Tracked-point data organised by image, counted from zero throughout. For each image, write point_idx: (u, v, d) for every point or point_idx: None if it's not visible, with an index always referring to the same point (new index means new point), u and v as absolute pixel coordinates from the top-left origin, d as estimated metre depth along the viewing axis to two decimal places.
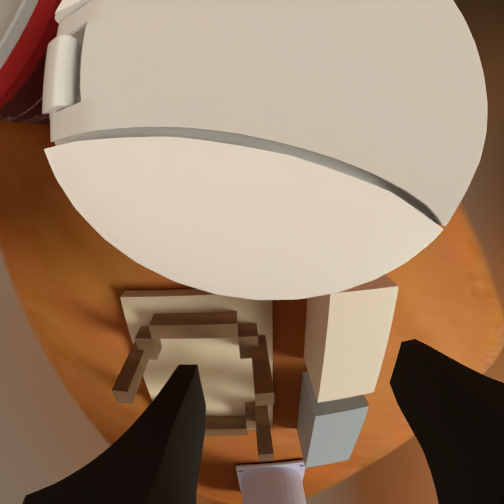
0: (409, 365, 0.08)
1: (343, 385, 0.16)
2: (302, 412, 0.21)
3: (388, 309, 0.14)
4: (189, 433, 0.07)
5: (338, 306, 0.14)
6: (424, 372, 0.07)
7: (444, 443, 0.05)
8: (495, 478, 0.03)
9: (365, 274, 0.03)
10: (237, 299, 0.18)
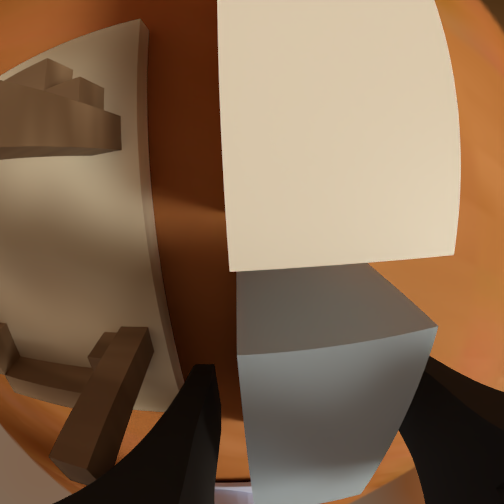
0: None
1: (337, 176, 0.04)
2: None
3: None
4: (208, 434, 0.07)
5: None
6: None
7: (432, 449, 0.05)
8: (483, 487, 0.03)
9: None
10: (77, 47, 0.06)
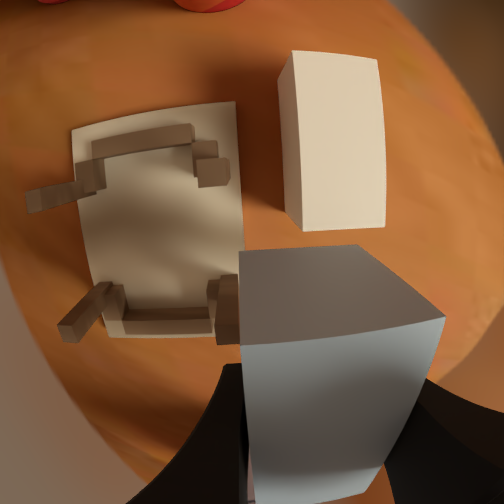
0: None
1: (337, 200, 0.12)
2: None
3: (372, 84, 0.10)
4: (245, 433, 0.07)
5: (305, 66, 0.10)
6: None
7: (402, 460, 0.05)
8: None
9: None
10: (195, 111, 0.14)
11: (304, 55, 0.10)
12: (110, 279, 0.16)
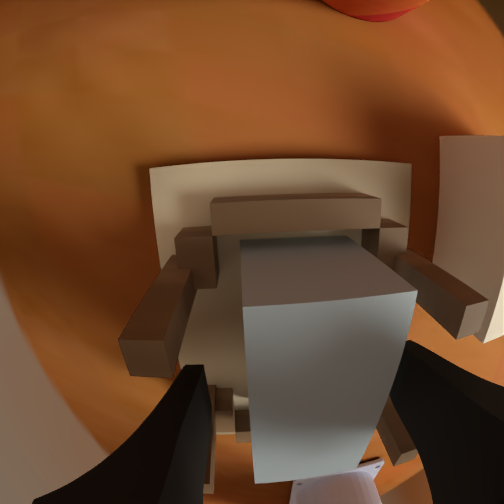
0: (404, 366, 0.08)
1: None
2: None
3: None
4: (196, 433, 0.07)
5: None
6: (419, 374, 0.07)
7: (439, 445, 0.05)
8: (491, 482, 0.03)
9: None
10: (365, 171, 0.10)
11: None
12: (212, 383, 0.12)
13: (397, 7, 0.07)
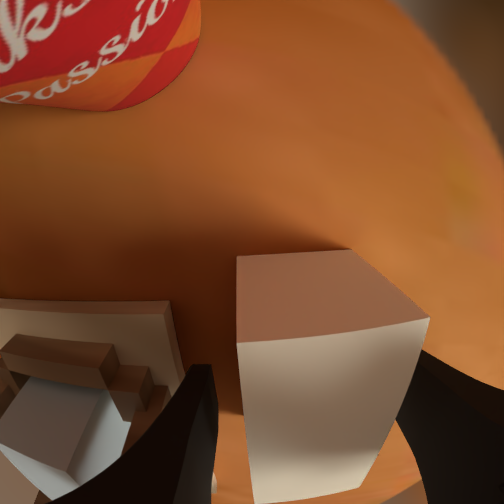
0: None
1: (299, 487, 0.07)
2: None
3: (401, 371, 0.05)
4: (205, 434, 0.07)
5: (265, 373, 0.05)
6: (414, 375, 0.07)
7: (434, 448, 0.05)
8: (486, 486, 0.03)
9: None
10: (108, 324, 0.09)
11: (265, 352, 0.05)
12: None
13: (108, 98, 0.06)
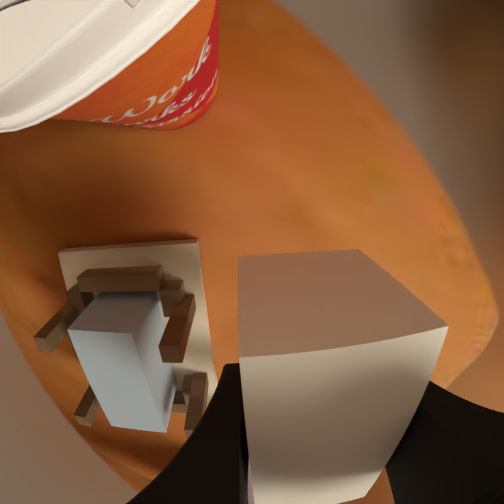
0: None
1: (303, 499, 0.06)
2: None
3: (415, 383, 0.05)
4: (245, 433, 0.07)
5: (270, 389, 0.05)
6: None
7: (402, 460, 0.05)
8: None
9: (30, 54, 0.02)
10: (161, 251, 0.17)
11: (271, 367, 0.04)
12: None
13: (174, 126, 0.13)
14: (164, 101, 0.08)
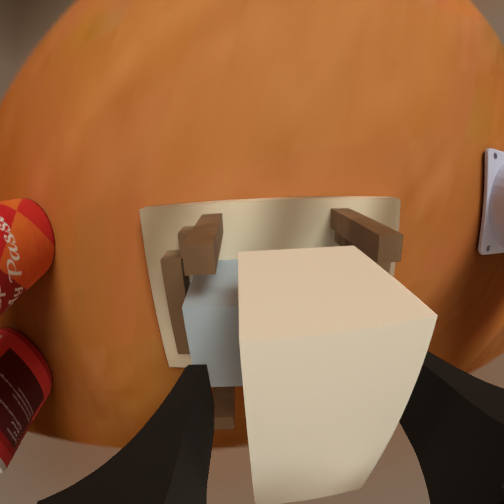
0: None
1: (301, 489, 0.07)
2: None
3: (407, 371, 0.05)
4: (200, 433, 0.07)
5: (268, 373, 0.05)
6: None
7: (436, 447, 0.05)
8: (488, 484, 0.03)
9: None
10: (151, 250, 0.14)
11: (269, 351, 0.05)
12: None
13: (34, 235, 0.13)
14: None
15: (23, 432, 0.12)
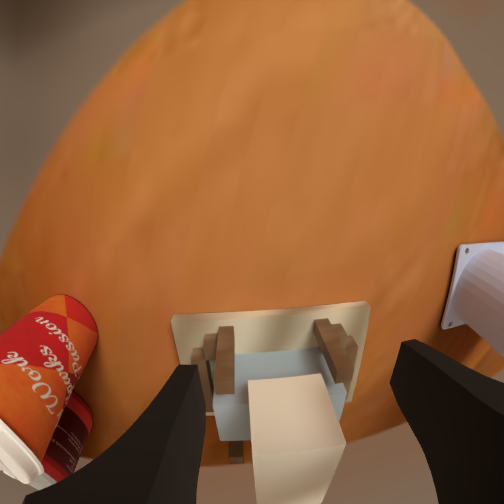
0: (409, 365, 0.08)
1: (283, 502, 0.12)
2: None
3: (332, 459, 0.10)
4: (189, 433, 0.07)
5: (264, 463, 0.10)
6: (424, 372, 0.07)
7: (444, 443, 0.05)
8: (495, 478, 0.03)
9: (2, 453, 0.06)
10: (181, 347, 0.19)
11: (264, 458, 0.10)
12: None
13: (85, 334, 0.17)
14: (40, 374, 0.11)
15: (76, 464, 0.17)
